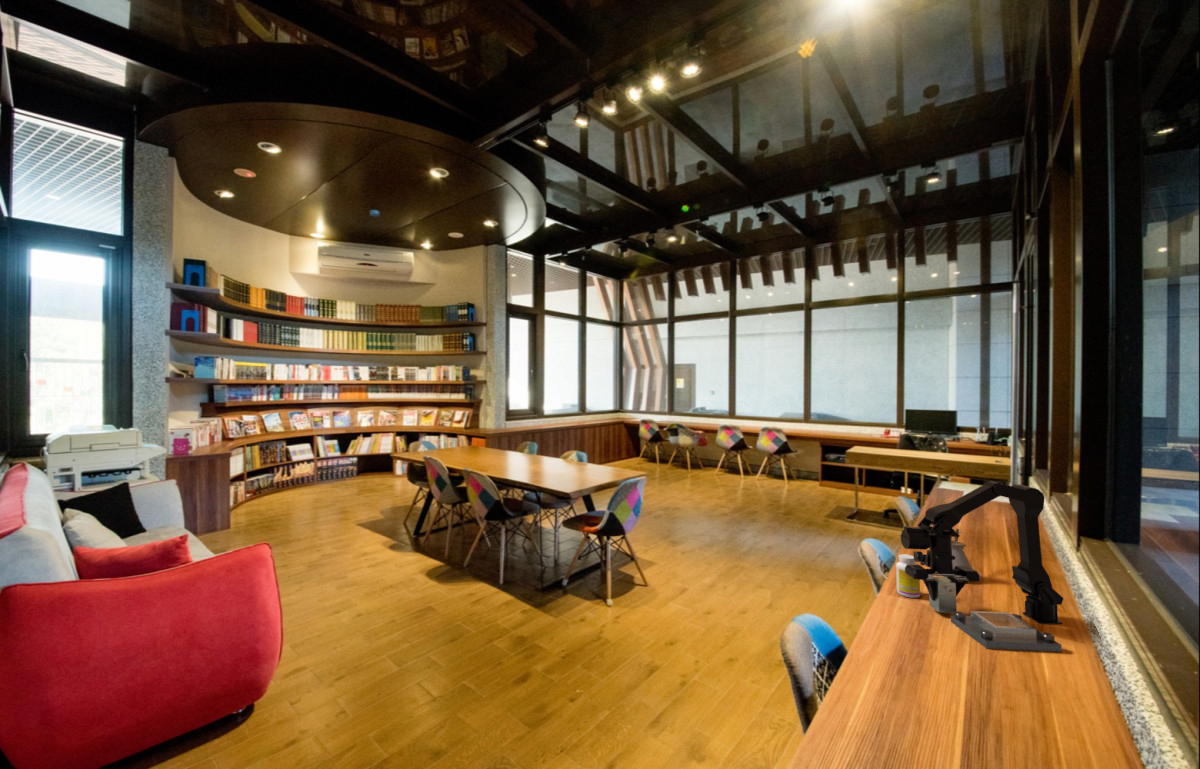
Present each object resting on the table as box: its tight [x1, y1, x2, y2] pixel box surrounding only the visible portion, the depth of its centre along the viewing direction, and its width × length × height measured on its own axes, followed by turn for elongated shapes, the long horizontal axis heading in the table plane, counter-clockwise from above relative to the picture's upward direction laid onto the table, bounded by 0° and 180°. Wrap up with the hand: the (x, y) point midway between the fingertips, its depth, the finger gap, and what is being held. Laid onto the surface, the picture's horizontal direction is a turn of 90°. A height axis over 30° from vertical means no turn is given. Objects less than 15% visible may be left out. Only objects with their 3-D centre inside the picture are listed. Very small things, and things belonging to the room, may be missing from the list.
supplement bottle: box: [895, 553, 921, 599], centre depth 158 cm, size 7×7×13 cm
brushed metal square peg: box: [928, 576, 958, 614], centre depth 143 cm, size 5×6×9 cm
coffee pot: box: [944, 528, 974, 582], centre depth 176 cm, size 21×12×15 cm, turn 137°
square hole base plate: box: [950, 610, 1062, 653], centre depth 129 cm, size 18×15×4 cm
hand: (942, 600), depth 143 cm, fingers closed on brushed metal square peg, 5 cm apart
